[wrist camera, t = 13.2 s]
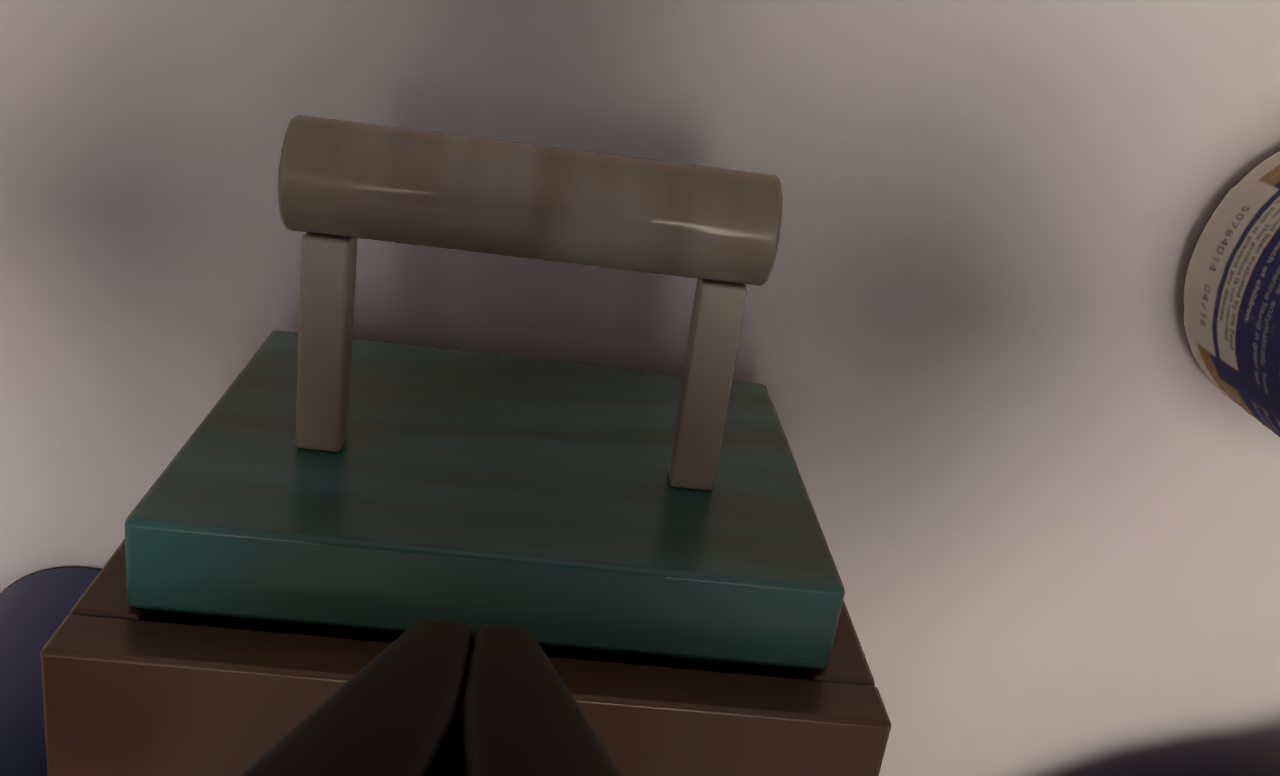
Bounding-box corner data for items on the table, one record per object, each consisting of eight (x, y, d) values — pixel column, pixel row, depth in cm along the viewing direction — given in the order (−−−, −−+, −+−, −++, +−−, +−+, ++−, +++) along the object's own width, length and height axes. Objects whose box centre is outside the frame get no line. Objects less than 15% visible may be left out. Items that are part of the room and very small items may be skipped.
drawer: (278, 63, 18) (111, 137, 12) (812, 133, 19) (927, 238, 12) (261, 865, 24) (141, 1207, 17) (672, 895, 24) (701, 1234, 18)
